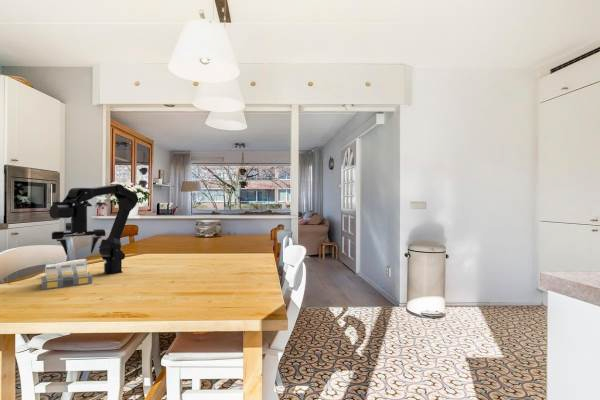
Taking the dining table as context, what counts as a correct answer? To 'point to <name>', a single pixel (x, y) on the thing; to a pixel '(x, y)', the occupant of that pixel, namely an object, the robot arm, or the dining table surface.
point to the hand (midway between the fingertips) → (79, 254)
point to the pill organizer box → (65, 281)
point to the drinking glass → (72, 263)
